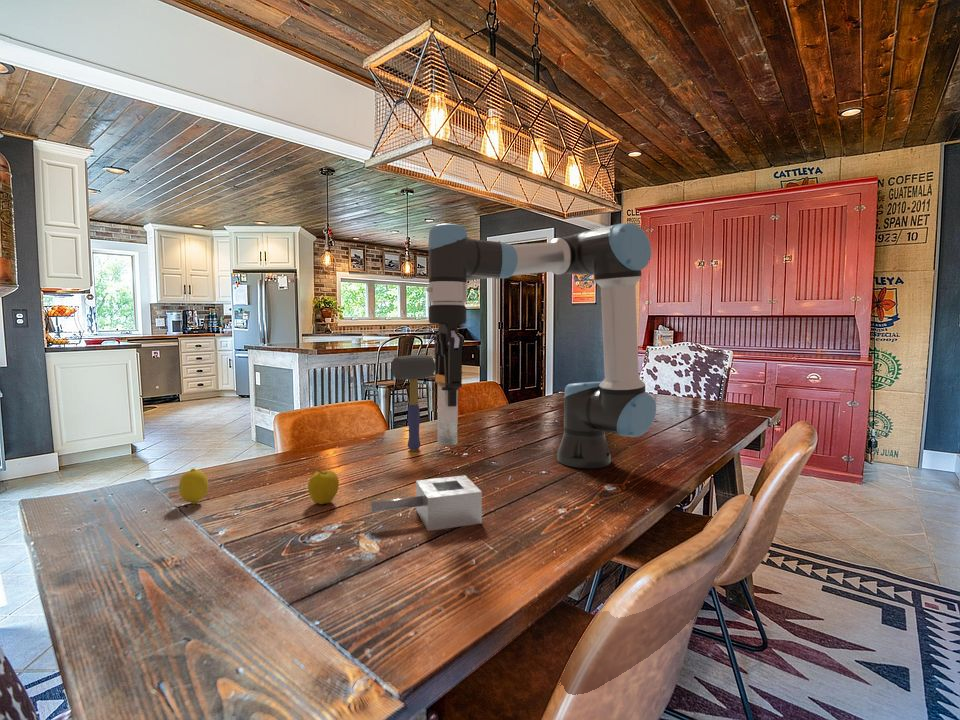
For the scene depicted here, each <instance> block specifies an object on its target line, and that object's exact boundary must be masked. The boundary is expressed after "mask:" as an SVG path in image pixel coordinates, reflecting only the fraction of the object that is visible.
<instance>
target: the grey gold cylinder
mask: <svg viewBox="0 0 960 720" xmlns="http://www.w3.org/2000/svg"><path fill="white" fill-rule="evenodd" d="M435 383H436V384H437V383H438V386H437V444H438V445H439V446H447V447H448V446H454V445H457V444H458V422H452V423H444V390H442V387H445V374H437V375H436V382H435Z"/></svg>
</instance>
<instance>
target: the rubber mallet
mask: <svg viewBox="0 0 960 720" xmlns="http://www.w3.org/2000/svg"><path fill="white" fill-rule="evenodd" d="M391 373H392V376H393V377H394V378H395V380H409V404H408V410H407V424H408V441H407V448H408V449H409V451H413V452H415V451H416V452H417V451H419V450H420V447H421V440H420V424H421V423H420V422H421V416H420V415H421V413H420V406H419V394H418V393H419V389H418V388H419V385H418V383H419V382H418V381H419V380H418V379H424V378H430V377H432V376H433V375H435V359H434V358H433V357H432V356H431V355H428V354H427V355H425V354H424V355H423V354H411V355H410V354H408V355H403V356H395V357H394V358H393V359H392V362H391Z"/></svg>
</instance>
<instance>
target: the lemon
mask: <svg viewBox="0 0 960 720" xmlns="http://www.w3.org/2000/svg"><path fill="white" fill-rule="evenodd" d="M178 490H179V495H180V497H181V499H182V500H183V501H185V502H188V503H191V504H193V505H196V504H197V503H198V502H199V501H201V500H202V499H204V498H205V497H206V495H207V493H208V491H209V481H208V477H207V475H206V474H205V473H204V471H201V470H200V469H196V468H191V469H190V470H188V471H186V472H185V473H184V474H183V475H182V476H181V478H180V481H179V485H178Z"/></svg>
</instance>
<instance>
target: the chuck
mask: <svg viewBox="0 0 960 720" xmlns="http://www.w3.org/2000/svg"><path fill="white" fill-rule="evenodd" d="M410 508H411V509H412V508H416V509H415V511H416V513H417V514H418V516H419V517H420V520H421V522H422V524H423V525H424V527H425V528H426V530H427V531H428V532H430V531H438V530H447V529H451V528H452V529H453V528H459V527H466V526H474V525H479V524H483V523H482V522H483V492H482V490H481V489H480V488H479V487H478V486H476V484H475V483H474V482H473V481H472V480H471V479H470V478H468V476H467V475H455V476H447V477H446V476H444V477H437V478H427V479H418V480H415V496H409V497H401V498H393V499H384V500H376V501H371V502H370V511H371V513H377V512H378V513H379V512H386V511H394V510H401V509H403V510H404V509H410Z"/></svg>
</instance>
